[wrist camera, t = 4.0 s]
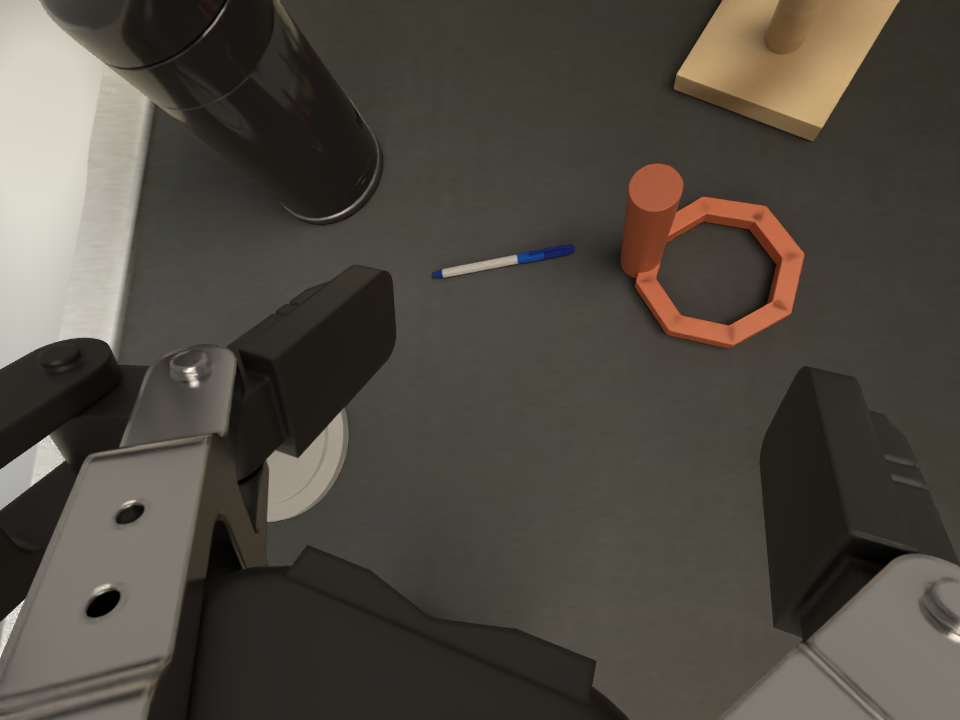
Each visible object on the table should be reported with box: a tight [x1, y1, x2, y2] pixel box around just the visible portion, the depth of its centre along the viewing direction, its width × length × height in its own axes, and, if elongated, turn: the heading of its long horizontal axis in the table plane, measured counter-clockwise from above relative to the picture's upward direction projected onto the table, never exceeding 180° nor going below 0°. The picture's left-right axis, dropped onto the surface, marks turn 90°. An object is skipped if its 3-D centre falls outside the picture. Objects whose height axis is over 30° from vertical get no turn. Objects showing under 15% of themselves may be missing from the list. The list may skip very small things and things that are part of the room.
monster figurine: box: [183, 347, 349, 522], centre depth 34 cm, size 12×12×10 cm
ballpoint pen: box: [432, 245, 575, 278], centre depth 37 cm, size 10×1×1 cm, turn 98°
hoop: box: [620, 164, 804, 349], centre depth 29 cm, size 11×9×10 cm
